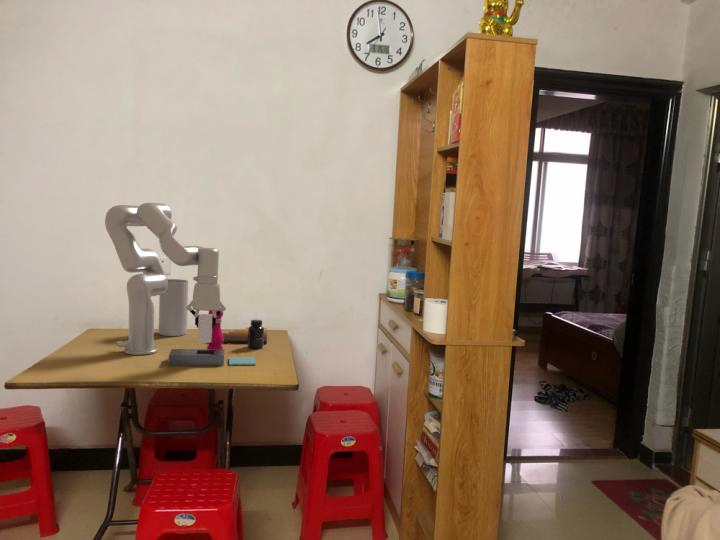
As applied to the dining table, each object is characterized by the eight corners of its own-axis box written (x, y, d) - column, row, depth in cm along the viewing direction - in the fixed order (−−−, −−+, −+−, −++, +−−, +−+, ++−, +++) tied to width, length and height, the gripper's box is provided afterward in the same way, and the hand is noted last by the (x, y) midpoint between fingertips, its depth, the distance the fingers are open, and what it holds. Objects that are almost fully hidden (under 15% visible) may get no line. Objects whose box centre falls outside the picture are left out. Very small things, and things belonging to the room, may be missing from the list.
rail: (168, 365, 216) (168, 355, 216) (171, 359, 226) (171, 349, 225) (223, 365, 220) (224, 355, 220) (224, 359, 230) (224, 349, 230)
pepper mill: (227, 349, 246) (228, 303, 244) (216, 353, 239) (217, 305, 237) (213, 347, 249) (214, 301, 247) (202, 350, 242) (203, 303, 240)
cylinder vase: (181, 337, 264) (183, 283, 262) (154, 335, 264) (155, 281, 262) (190, 332, 277) (191, 280, 274) (164, 330, 277) (165, 278, 275)
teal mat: (229, 365, 221) (229, 363, 221) (229, 359, 231) (229, 357, 230) (255, 365, 223) (255, 363, 223) (254, 359, 233) (254, 357, 233)
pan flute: (209, 344, 256) (266, 345, 260) (209, 337, 255) (266, 338, 259) (214, 332, 280) (266, 334, 284) (214, 326, 280) (266, 327, 284)
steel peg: (197, 342, 220) (198, 316, 219) (198, 339, 225) (199, 313, 224) (211, 342, 221) (212, 316, 220) (211, 339, 226) (212, 314, 225)
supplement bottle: (259, 350, 248) (260, 322, 247) (244, 348, 250) (245, 321, 249) (265, 346, 255) (266, 319, 254) (251, 345, 256) (252, 318, 255)
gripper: (183, 280, 215) (181, 328, 217) (230, 282, 219) (227, 329, 221) (184, 278, 223) (183, 324, 224) (230, 280, 226) (228, 325, 228)
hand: (205, 326), depth 223 cm, fingers closed on steel peg, 5 cm apart
